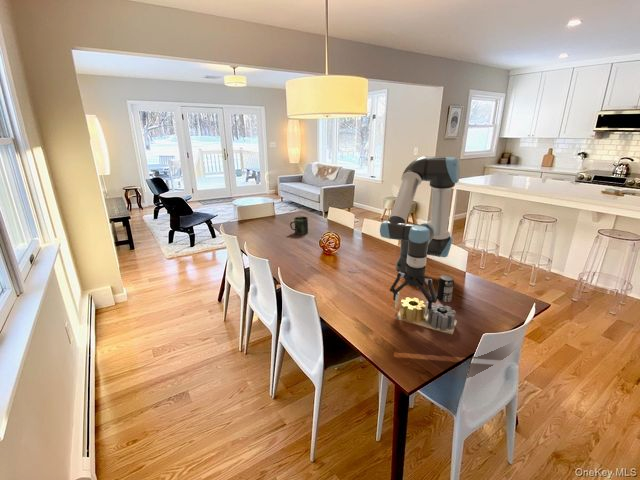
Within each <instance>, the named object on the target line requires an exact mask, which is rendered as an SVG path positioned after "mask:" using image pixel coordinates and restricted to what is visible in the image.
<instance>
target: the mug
mask: <svg viewBox="0 0 640 480" xmlns="http://www.w3.org/2000/svg"><path fill="white" fill-rule="evenodd" d="M308 220H309V217H308V216H305V215H304V216H295V217H294V218H293V221H290V223H289V224H290V225H289V227H290V229H291V230H292V231H294V233H295V235H301V234H302V235H306V234H308V233H309V223H308ZM292 224H294V228H293V226H292Z"/></svg>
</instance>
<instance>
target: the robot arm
mask: <svg viewBox="0 0 640 480" xmlns="http://www.w3.org/2000/svg"><path fill="white" fill-rule="evenodd" d="M460 173H461V172H460V162H459V159H458V158H457V157H454V156H453V157H451V156H428V155H425V156H420V157H418V158H416V159H414V160H413V161H411V162H410V163H409V164H408V165H407V167H405V169H404V170H403V172H402V175H401V181H402V182H401V184H400V187H399V189H398V192H397V196H396V198H395V201H394V204H393V206H392V209H391V213H390V215H389V218H388V220H383V221H382V222H381V224H380V226H379V234H380V237H381V238H385V239H389V240H397V241H400V249H399V250H400V253H399V254H400V255H399V257H398V259H397V261H396V264H395V268H396V270H397V271H399V272H398V273H397V275H396V278H395V280H394V282H393V283H392V285H391V287H390V288H389V292H390V293H391V292H392V293H393V297H392V300H393V301H395V302H394V309H397V308H398V307H399V300H400V291H401V290H403V288H405V287H406V286H407V285H409V286H413V287H414V288H415V287H416V288H417V287H418V288H419V289H418V290H420V291H421V293H422V294H423V296H424V297H425V299H426V302H425V305H426V308H425V317H426V316H427V314H428V312H429V309H431V306H432V305H433V304H436V303H437V301H438V299H437V294H436V291H435V288H434V285H433V278H432V277H430V278H426V276H425V275H426V267H427V266H426V265H427V258H428V256H432V257H438V258H447V257H449V253H450V250H451V246H452V243H453V238H454V237H453V236H451V231H449V230H448V228H449V227H448V225H449V217H450V215H449V214H450V204H451V195H452V194H451V193H452V188H454V187H455V186H456V183H459V180H460ZM422 182H429V187H430V188H431V189H432V190H431V192H432V194H431V205H430V206H431V208H430V221H429V222H430V223H428V222H426V223H421V224H413V223H407V219H408V218H409V214H410V212H411V207H412V205H413V201H414V198H415V196H416V193H417V189H418V187H419V186H420V185H421V184H422ZM403 278H404V280H405V281H403V282H402V283H401V284H400V285H399V286H397V285H398V283H399V282H400V280H401V279H403ZM424 283H425V284H426V285H427V287H428V289H427V288H426V286H425V284H424ZM396 286H397V288H396Z"/></svg>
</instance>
